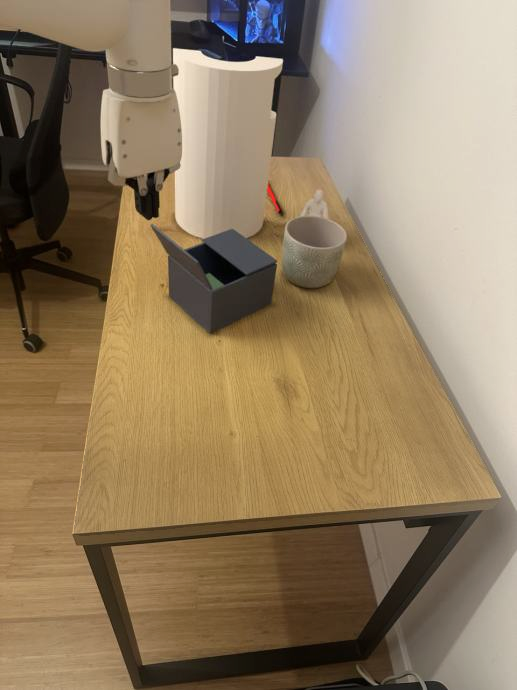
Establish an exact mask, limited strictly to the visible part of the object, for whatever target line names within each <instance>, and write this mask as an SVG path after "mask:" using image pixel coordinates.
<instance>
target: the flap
mask: <svg viewBox="0 0 517 690" xmlns="http://www.w3.org/2000/svg"><path fill="white" fill-rule="evenodd" d="M150 227H151V229H152V231H153V232H154V235H156V238H157V239H158V241H159V242H160V244H161V246H162V247H163V250H164V251H165V252H166V254H167V255H170V256H171V257H172V258H173V259H175V260H176V261H177V262H178V263H179V264H180V265H182V266H183V267H184V268H185V269H186V270H188V271H189V272H190V273H191V274H192V275H194V276H195V277H196V278H197V279H198V280H199V281H201V282H202V283H203V284H204V285H205V286H207V287H208V288H209V289H210V290H212V289H213V288H212V286H211V284H210V283H209V281H208V279H207V277H206V275H205V273H204V271H203V269H202V267H201V265H200V263H199V262H198V261H197V260H196V259H195V258H194V257H192V256H191V255H190V254H189V253H188V252H186V251H185V250H184V249H185V248H183V247H182V246H180V245H179V244H178V243H177V242H175V241H174V240H173V239H171V238H170V236H168V235H167V234H166V233H164V232H163V231H162V230H161V229H159V228H158V227H157V226H155V224H153V223H150Z"/></svg>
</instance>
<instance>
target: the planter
mask: <svg viewBox="0 0 517 690" xmlns="http://www.w3.org/2000/svg"><path fill="white" fill-rule="evenodd" d="M347 241H348V233H347V231H346V230H345V228H344V227H343V226H342V225H340V224H339V223H338V222H336V221H334V220H333V219H330V218H328V219H327V218H324V217H323V216H321V217H320V216H311V215H308V214H306V216H300V215H299V216H296V217H293V218H291V219H290V220H288V221H287V223H285V226H284V234H283V243H282V249H281V251H282V252H281V270H282V273H283V275H284V276H285V278H286V279H287V280H288V281H289V282H291V283H292V284H294V285H295V286H298V287H301V288H306V289H318V288H322V287H325V286H327V285H328V284H330V283H331V282H332V281H333V279H334V278H335V276H336V274H337V272H338V269H339V267H340V264H341V262H342V261H341V260H342V257H343V254H344V250H345V247H346V244H347Z"/></svg>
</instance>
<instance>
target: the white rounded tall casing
mask: <svg viewBox="0 0 517 690" xmlns="http://www.w3.org/2000/svg"><path fill="white" fill-rule="evenodd" d="M283 63H284V59H283V58H277V57H268V56H267V57H266V56H258V55H257V56H255V58H254V59H252V60H247V61H227V60H220V59H216V58H212V57H210V56H207V55H205V54H204V53H202V51H201V50H196V49H185V48H177V47H173V48H172V64H176V65H177V66H178V69H179V74H178V76H174V77H173V78H172V87H173V89H174V90H175V92H176V96H177V100H178V106H179V111H180V119H181V129H182V158H181V161H180V165H181V166H180V168H179V169H178V170H176V171H175V172H174V215H175V217H174V218H175V221H176V223H177V224H178V226H179V227H180V228H181V229H182V230H183V231H185V232H186V233H188V234H190V235H192V236H193V237H196V238H199V239H205V238H208V237H210V236H213V235H216V234H219V233H221V232H224V231H227V230H230V229H234V230H235V231H237V232H238V233H239V234H241V235H242V236H244V237H245V238H246V239H248V238H251V237H252V236H254V235H256V234H257V233H258V232H259V231H260V230H261V229H262V228H263V225H264V219H265V212H266V203H267V194H268V190H267V187H268V184H269V177H270V172H271V171H270V170H271V164H272V163H271V162H272V153H273V148H274V147H273V145H274V139H275V137H274V136H275V129H276V122H277V111H273V110H272V107H273V98H274V89H275V81H276V78H278V76H279V75H280V74H281V72H282V71H283Z"/></svg>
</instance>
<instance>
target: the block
mask: <svg viewBox="0 0 517 690" xmlns="http://www.w3.org/2000/svg"><path fill="white" fill-rule="evenodd" d="M206 277H207V279H208V281H209V283H210V284H211V286H212V288H213V289H212V290H215V289H217V288H219V287H222V286H224V285H223V284H222V283H221V282H220V281H219V280H217V279H216V278H215V277H214V276H212V275H211V274H210V273H208V274H206Z"/></svg>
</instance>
